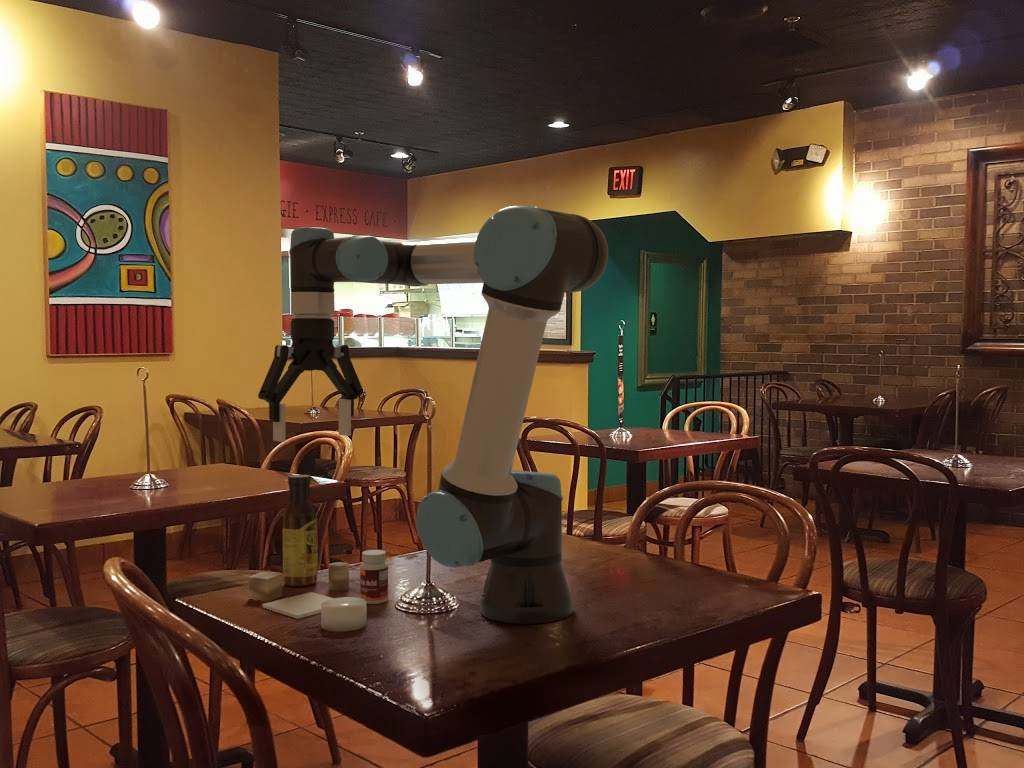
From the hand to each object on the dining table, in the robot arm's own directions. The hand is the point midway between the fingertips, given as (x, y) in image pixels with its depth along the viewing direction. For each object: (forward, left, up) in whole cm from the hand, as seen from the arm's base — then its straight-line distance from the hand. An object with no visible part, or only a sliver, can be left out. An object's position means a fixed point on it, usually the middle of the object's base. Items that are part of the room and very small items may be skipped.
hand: (313, 438), depth 166 cm
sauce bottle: (+7, -2, -28) cm, 28 cm away
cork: (-2, -4, -27) cm, 28 cm away
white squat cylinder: (-20, +9, -28) cm, 35 cm away
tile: (-7, +7, -27) cm, 29 cm away
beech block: (+3, +8, -27) cm, 29 cm away
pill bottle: (-13, -3, -28) cm, 30 cm away
